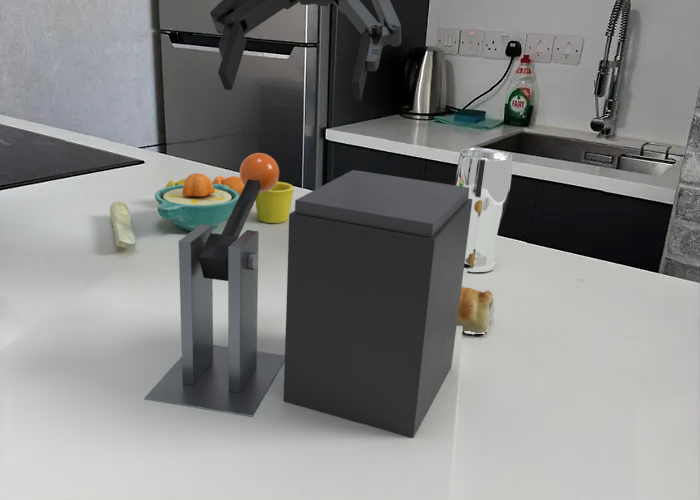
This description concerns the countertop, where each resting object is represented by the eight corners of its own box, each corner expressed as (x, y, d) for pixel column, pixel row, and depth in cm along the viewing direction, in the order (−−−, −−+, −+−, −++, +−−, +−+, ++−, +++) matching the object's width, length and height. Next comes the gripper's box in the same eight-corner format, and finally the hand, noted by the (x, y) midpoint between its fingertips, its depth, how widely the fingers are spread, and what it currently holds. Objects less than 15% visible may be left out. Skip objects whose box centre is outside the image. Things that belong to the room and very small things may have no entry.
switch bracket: (194, 352, 64) (191, 212, 59) (287, 366, 62) (291, 223, 58) (144, 410, 55) (136, 249, 50) (252, 429, 53) (254, 264, 48)
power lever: (249, 174, 65) (243, 143, 62) (285, 178, 64) (281, 146, 62) (196, 282, 55) (187, 250, 52) (239, 287, 54) (232, 256, 52)
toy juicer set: (235, 193, 116) (235, 147, 113) (300, 221, 104) (302, 171, 101) (64, 219, 98) (60, 166, 95) (119, 257, 85) (116, 197, 83)
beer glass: (482, 254, 94) (496, 147, 89) (508, 273, 88) (525, 159, 83) (436, 257, 92) (449, 147, 87) (460, 276, 86) (475, 160, 81)
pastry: (399, 323, 72) (402, 290, 71) (412, 300, 78) (415, 269, 77) (488, 340, 70) (493, 306, 69) (494, 314, 76) (499, 282, 75)
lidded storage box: (271, 409, 56) (277, 198, 50) (330, 347, 66) (340, 167, 60) (411, 450, 52) (436, 225, 46) (450, 377, 62) (474, 187, 56)
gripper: (438, -30, 78) (413, 120, 70) (231, -41, 82) (183, 99, 74) (440, -87, 72) (413, 71, 63) (215, -97, 76) (160, 51, 67)
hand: (289, 87), depth 68 cm, fingers open, 13 cm apart
